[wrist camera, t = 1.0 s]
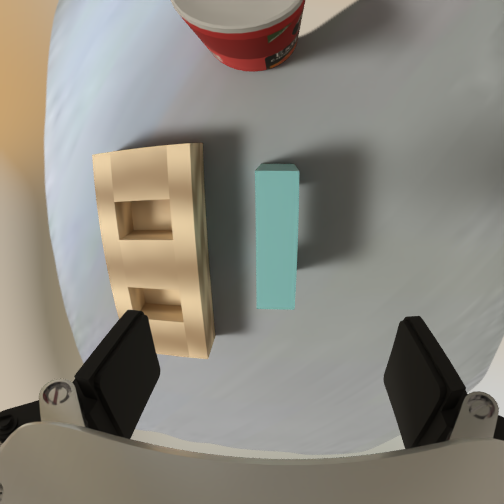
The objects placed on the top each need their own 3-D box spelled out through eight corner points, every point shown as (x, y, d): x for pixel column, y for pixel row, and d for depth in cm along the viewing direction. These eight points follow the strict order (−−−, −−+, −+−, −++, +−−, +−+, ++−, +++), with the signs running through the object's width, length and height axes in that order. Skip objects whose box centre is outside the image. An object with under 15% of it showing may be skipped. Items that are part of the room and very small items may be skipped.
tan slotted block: (114, 151, 26) (92, 154, 22) (202, 142, 25) (189, 143, 21) (141, 328, 33) (127, 349, 29) (215, 335, 32) (207, 359, 28)
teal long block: (261, 163, 25) (255, 170, 19) (293, 163, 25) (299, 171, 18) (261, 270, 29) (256, 308, 22) (291, 270, 28) (294, 309, 22)
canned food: (286, 83, 22) (290, 42, 12) (197, 65, 22) (148, 24, 12) (306, 13, 20) (320, -53, 9) (220, -3, 20) (189, -66, 9)
